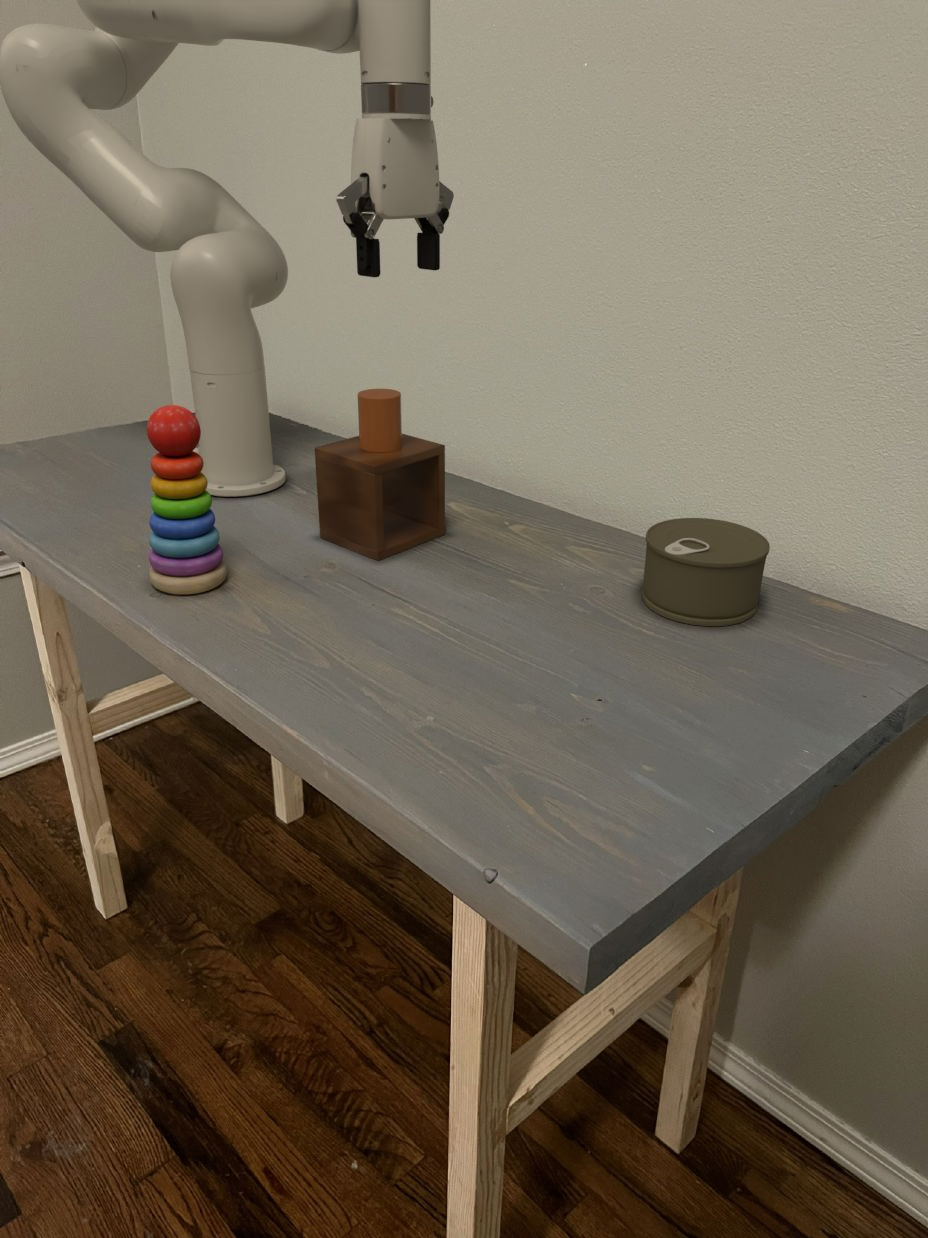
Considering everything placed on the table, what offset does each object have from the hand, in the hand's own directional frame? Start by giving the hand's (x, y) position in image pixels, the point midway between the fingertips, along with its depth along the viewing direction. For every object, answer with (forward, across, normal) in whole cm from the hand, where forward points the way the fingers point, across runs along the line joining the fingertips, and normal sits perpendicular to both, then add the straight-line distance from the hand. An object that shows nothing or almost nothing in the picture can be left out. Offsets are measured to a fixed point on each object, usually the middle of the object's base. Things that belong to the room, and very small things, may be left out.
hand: (399, 272), depth 108 cm
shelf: (+28, +10, +6) cm, 31 cm away
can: (+28, 0, +43) cm, 52 cm away
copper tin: (+17, +10, +7) cm, 21 cm away
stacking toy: (+28, +33, +1) cm, 44 cm away
